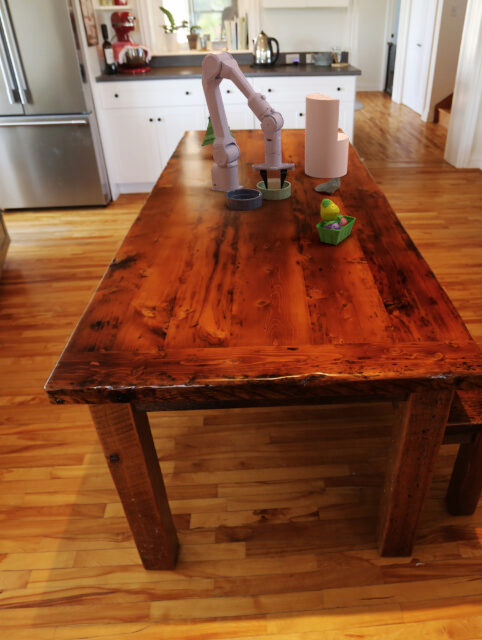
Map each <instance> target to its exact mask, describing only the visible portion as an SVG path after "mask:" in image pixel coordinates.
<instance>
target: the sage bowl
mask: <svg viewBox="0 0 482 640" xmlns="http://www.w3.org/2000/svg"><path fill="white" fill-rule="evenodd" d="M267 184H268V180H267ZM256 190H259V191H260V192H261V193H262V200H267V201H280V200H285V199H288V198H290V197H291V196H292V183H291V182H289V181H287V180H285V181H284V184H283V189H276V190H270V189H266V187H265V184H264V181H263V180H261V181H259V182H257V183H256Z"/></svg>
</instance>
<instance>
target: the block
mask: <svg viewBox="0 0 482 640" xmlns="http://www.w3.org/2000/svg"><path fill="white" fill-rule="evenodd" d="M267 180H268V189H270V190H276V189H281V186H280V177H279V178H267Z"/></svg>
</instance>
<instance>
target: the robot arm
mask: <svg viewBox="0 0 482 640" xmlns="http://www.w3.org/2000/svg"><path fill="white" fill-rule="evenodd" d="M201 68H202V69H201V70H202V74H201V75H202V76H201V86H202V90H203V94H204V98H205V102H206V103H205V104H206V107H207V110H208V114H209V117H210V119H211V123H212V127H213V131H214V135H215V141H214V143H212V151H213V153H212V157H213V158H212V159H213V162H214V163H213V165H212V167H211V169H210V171H211V173H210V174H211V185H212V186H211V187H212V188H211V190H213V191H218V192H226V193H227V192H229V191H231V190H235V189H243V188H244V185H240V181H239V179H240V178H239V167H238V165H239V159H240V157H241V149H240V146H239V145H238V144H237V141H236V137H235V138H233V137H232V136H231V135H230V131H229V127H230V125H229V123H228V118H227V113H226V109H225V105H224V102H223V97H222V92H221V89H220V88H221V87H220V85H221V84H222V81H224V79H225V80H229V81H231V82H232V83H233V84H234V86H235V87H236V88H237V89H238V90H239V91H240V93H241V94H242V95H243V96H244V97H245V98H246V100H247V107H248V108H249V109H250V111H251V112H252V114H253V115H254V116H255V117H256V119H258V121H259V122H260V125H259V126H260V128H261V131H262V132H263V141H264V163H257V164H252V172H253V173H256V172H259V175H260V177H261V179H262V181H264V184H265V187H266V189H268V184H267V179H268V172H273V171H275V172H276V171H279V178H280V186H281V189H283V184H284V181H286V178H287V177H288V174H289V172H288V171H291V172H292V171H294V172H295V163H287V162H283V161H282V129H283V127H284V125H285V120H284V116H283V115H282V113H281V112H279V111H276V110H275V108H274V107H272V106H271V105H270V103H269V101H267V97H266V95H265V94H262V93H261V92H257V91H255V89H254V88H253V86H252V85H251V83H250V82H249V80H248V79H247V77H246V75H244V72H242V70H241V68H240V67H239V64H238V61H237V60H236V59H235V58H234V57H233V55H232V53H230V52H229V51H227V50H224V51H223V50H222V51H220V52H214V53H212V52H211V53H210V52H209V53H207V54H206V55H205V56H204V58H203V60H202V62H201Z"/></svg>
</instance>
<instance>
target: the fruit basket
mask: <svg viewBox="0 0 482 640" xmlns="http://www.w3.org/2000/svg"><path fill="white" fill-rule="evenodd" d="M340 212H341V211H340V207H339V206H338V205H337V204H336V203H335V202H333V201H332V200H331V199H329V198H323V199H322V200H321V203H320V217H321V219H322V220H321V221H320V222H319V223H317V224H316V229H317V233H318V235H319V239H320V242H322V243H326V244H330V245H334V246H337V245H338V244H339V243H341V242H342V241H343V240H345V239H346V238H347V237H348V236H350V235H351V233H352V229H353V226H354V224H355V221H356V217H353V216H349V215H344V214H340Z"/></svg>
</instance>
